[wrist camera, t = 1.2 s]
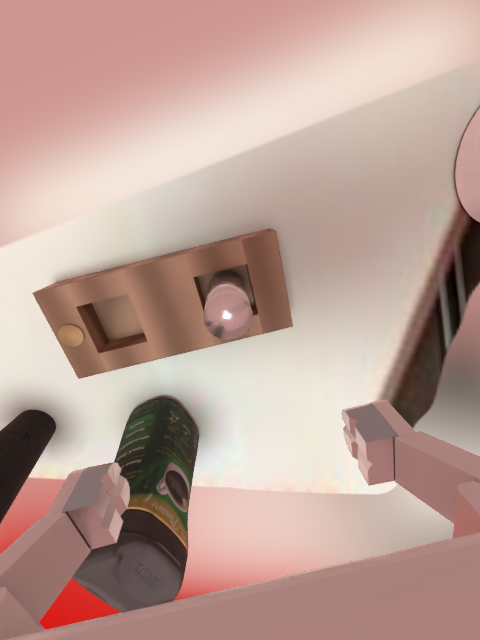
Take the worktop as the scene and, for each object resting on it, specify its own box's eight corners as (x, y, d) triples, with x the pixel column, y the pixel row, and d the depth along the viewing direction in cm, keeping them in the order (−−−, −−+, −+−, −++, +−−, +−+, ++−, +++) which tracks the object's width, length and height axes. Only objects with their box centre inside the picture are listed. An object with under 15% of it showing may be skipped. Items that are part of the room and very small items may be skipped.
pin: (239, 266, 30) (246, 288, 22) (247, 300, 32) (257, 333, 24) (203, 275, 31) (197, 300, 22) (213, 309, 32) (211, 344, 24)
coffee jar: (120, 412, 38) (35, 584, 20) (171, 387, 37) (128, 546, 19) (159, 459, 41) (115, 640, 24) (207, 438, 40) (198, 610, 23)
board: (268, 228, 30) (276, 231, 26) (284, 313, 34) (293, 327, 30) (55, 283, 31) (30, 294, 27) (93, 360, 35) (77, 380, 31)
